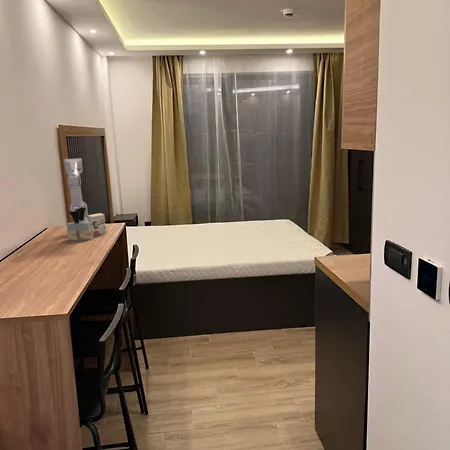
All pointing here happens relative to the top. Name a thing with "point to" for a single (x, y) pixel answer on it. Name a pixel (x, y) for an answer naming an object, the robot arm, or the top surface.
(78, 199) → the robot arm
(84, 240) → the mat
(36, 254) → the top surface
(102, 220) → the ink box
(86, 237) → the cube right
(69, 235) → the cube left
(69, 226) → the lintel
